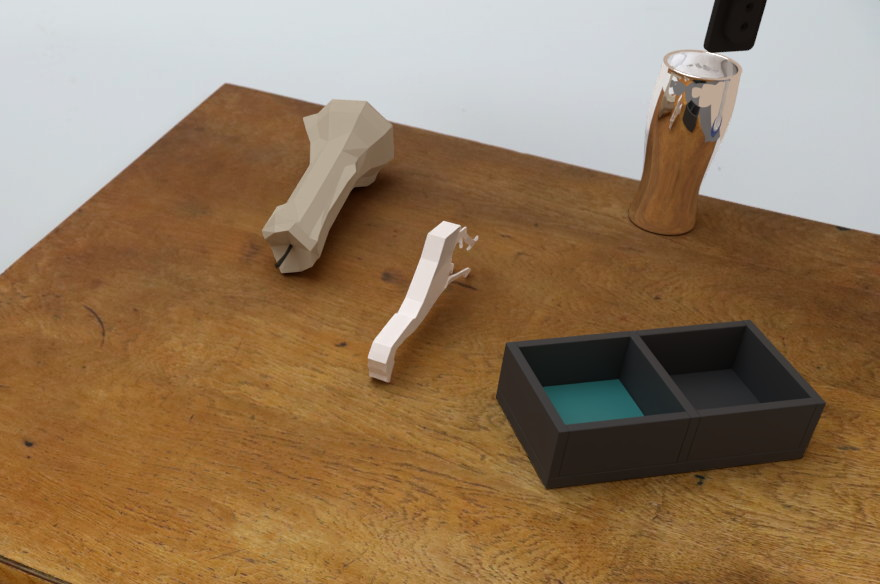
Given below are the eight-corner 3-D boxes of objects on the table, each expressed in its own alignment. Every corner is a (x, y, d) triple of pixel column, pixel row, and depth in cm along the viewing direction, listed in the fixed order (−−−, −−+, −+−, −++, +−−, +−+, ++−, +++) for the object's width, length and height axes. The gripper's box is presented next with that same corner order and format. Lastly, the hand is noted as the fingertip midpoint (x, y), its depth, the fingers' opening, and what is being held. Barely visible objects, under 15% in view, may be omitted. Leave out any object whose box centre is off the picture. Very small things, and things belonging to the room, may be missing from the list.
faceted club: (412, 163, 108) (339, 307, 90) (331, 169, 111) (244, 309, 93) (395, 77, 103) (314, 211, 85) (310, 87, 106) (215, 218, 88)
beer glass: (715, 225, 103) (762, 70, 94) (664, 245, 100) (708, 86, 90) (657, 194, 107) (697, 42, 98) (607, 212, 104) (643, 57, 95)
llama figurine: (431, 342, 97) (359, 381, 81) (463, 215, 93) (395, 229, 77) (451, 348, 96) (382, 388, 80) (484, 221, 93) (419, 236, 77)
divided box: (731, 373, 85) (750, 319, 82) (803, 458, 77) (826, 402, 74) (495, 397, 81) (505, 342, 78) (545, 489, 74) (559, 432, 70)
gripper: (923, -258, 56) (816, 70, 66) (741, -303, 69) (676, -24, 79) (790, -257, 54) (703, 78, 65) (630, -304, 67) (579, -19, 78)
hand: (688, 21), depth 72 cm, fingers open, 9 cm apart
